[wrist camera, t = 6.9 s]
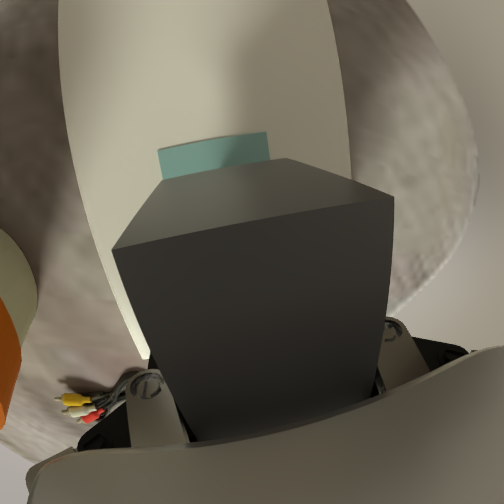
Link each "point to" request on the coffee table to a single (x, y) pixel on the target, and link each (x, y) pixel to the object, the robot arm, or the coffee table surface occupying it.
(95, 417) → the composite cable
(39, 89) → the coffee table surface
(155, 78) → the board
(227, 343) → the block
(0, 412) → the reusable coffee cup
